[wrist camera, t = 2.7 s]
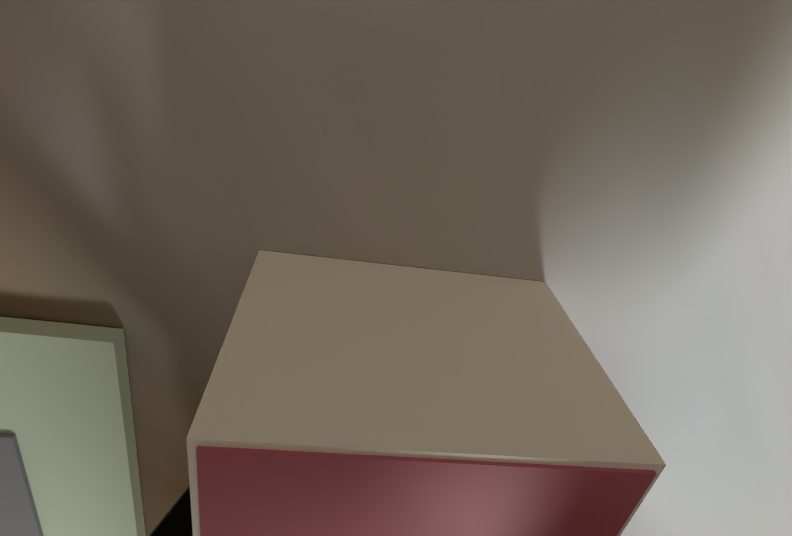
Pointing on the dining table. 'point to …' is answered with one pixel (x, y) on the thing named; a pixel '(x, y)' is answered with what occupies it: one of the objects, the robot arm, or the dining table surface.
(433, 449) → the card box
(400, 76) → the dining table surface
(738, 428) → the dining table surface
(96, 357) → the mat
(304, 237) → the dining table surface
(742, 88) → the dining table surface
